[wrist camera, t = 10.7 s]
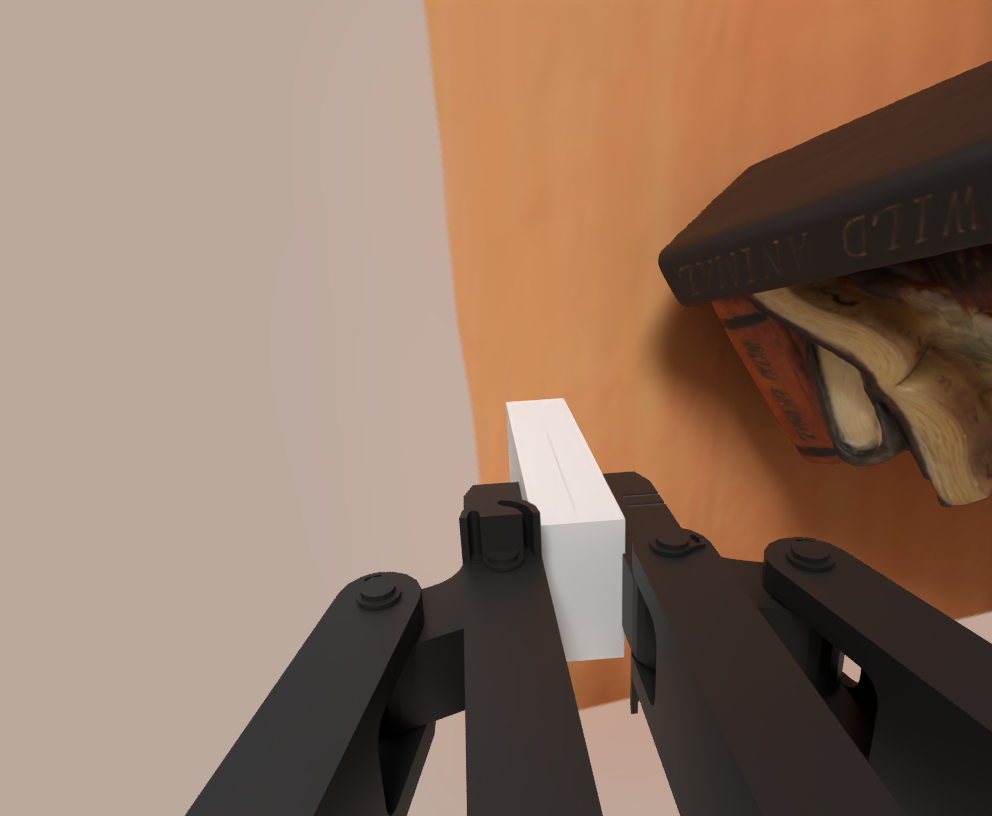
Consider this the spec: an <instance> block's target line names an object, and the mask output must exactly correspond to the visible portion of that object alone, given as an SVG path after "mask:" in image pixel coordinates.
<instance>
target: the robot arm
mask: <svg viewBox="0 0 992 816" xmlns="http://www.w3.org/2000/svg"><path fill="white" fill-rule="evenodd" d="M506 415H507V433H508V452H509V470H510V483H497V484H483V485H473V486H472V487H471V488H470V490H469V491H468V492H467V493H466V495H465V496H464V510H463V511H462V513H461V516H460V518H459V523H460V535H461V547H462V558H463V566H462V567H461V569H460V570H459V571H458V572H457V573H456V574H455V575H454V576H453V577H452V578H449V579H448V580H446V581H444V582H442V583H440V584H437V585H434V586H431V587H428V588H424V589H421V587H420V585H419V584H418V582H417V580H415V579H413V578H412V577H410V576H408V575H407V574H402V573H396V572H378V573H373V574H369V575H366V576H363V577H360V578H359V579H357V580H355V581H353V582H351V583H349V584H348V585H347V586H346V587H345V588H344V589H343V590H341V592H340V593H339V594H338V595H337V596H336V598H335V599H334V601H333V602H332V604H331V605H330V607H329V608H328V609H327V611H326V613H325V614H324V615H323V617H322V618H321V620H320V621H319V622H318V624H317V625H316V627H315V628H314V630H313V631H312V633H311V634H310V636H309V637H308V638H307V640H306V641H305V643H304V644H303V646H302V647H301V649H300V650H299V651H298V653H297V654H296V656H295V657H294V659H293V660H292V662H291V663H290V664H289V666H288V667H287V669H286V670H285V672H284V673H283V674H282V676H281V678H280V679H279V680H278V682H277V683H276V685H275V686H274V688H273V689H272V690H271V692H270V693H269V695H268V696H267V698H266V699H265V701H264V702H263V704H262V705H261V706H260V708H259V709H258V711H257V712H256V714H255V715H254V716H253V718H252V719H251V721H250V722H249V724H248V725H247V727H246V728H245V729H244V731H243V732H242V734H241V735H240V737H239V738H238V740H237V741H236V742H235V744H234V746H233V747H232V748H231V750H230V751H229V753H228V754H227V755H226V757H225V759H224V760H223V761H222V763H221V764H220V766H219V767H218V769H217V770H216V771H215V773H214V774H213V776H212V777H211V779H210V780H209V782H208V783H207V784H206V786H205V787H204V789H203V790H202V792H201V793H200V795H199V796H198V797H197V799H196V800H195V802H194V803H193V805H192V806H191V808H190V809H189V810H188V812H187V813H186V815H185V816H407V813H408V810H409V807H410V805H411V801H412V799H413V796H414V793H415V790H416V787H417V784H418V781H419V778H420V775H421V772H422V769H423V766H424V763H425V761H426V758H427V755H428V752H429V749H430V746H431V743H432V740H433V737H434V734H435V724H436V720H439V719H442V718H444V717H447V716H450V715H453V714H456V713H458V712H461V711H464V710H465V718H466V719H465V722H466V780H467V816H603V815H602V811H601V806H600V802H599V798H598V793H597V789H596V785H595V781H594V776H593V772H592V768H591V764H590V759H589V755H588V751H587V746H586V742H585V738H584V734H583V730H582V725H581V721H580V717H579V712H578V708H577V704H576V700H575V695H574V691H573V687H572V683H571V678H570V674H569V670H568V666H567V662H573V661H585V660H596V659H608V658H620V657H624V632H625V635H626V637H627V640H628V642H629V645H630V648H631V693H630V705H631V714H635V713H638V701H639V700H640V703H641V705H642V708H643V711H644V714H645V717H646V720H647V723H648V725H649V728H650V731H651V734H652V737H653V739H654V742H655V745H656V748H657V751H658V754H659V757H660V759H661V762H662V765H663V768H664V770H665V773H666V776H667V779H668V782H669V785H670V788H671V791H672V793H673V796H674V799H675V802H676V805H677V808H678V810H679V813H680V816H992V644H991V643H989V642H988V641H986V640H985V639H983V638H982V637H980V636H978V635H977V634H975V633H974V632H972V631H971V630H969V629H967V628H966V627H964V626H962V625H961V624H959V623H958V622H956V621H955V620H953V619H951V618H950V617H948V616H947V615H945V614H944V613H942V612H940V611H939V610H937V609H936V608H934V607H932V606H931V605H929V604H928V603H926V602H925V601H923V600H921V599H920V598H918V597H917V596H915V595H913V594H912V593H910V592H909V591H907V590H905V589H904V588H902V587H901V586H899V585H898V584H896V583H894V582H893V581H891V580H890V579H888V578H886V577H885V576H883V575H882V574H880V573H879V572H877V571H875V570H874V569H872V568H871V567H869V566H867V565H866V564H864V563H863V562H861V561H859V560H858V559H856V558H855V557H853V556H852V555H850V554H848V553H847V552H845V551H844V550H842V549H839V548H837V547H835V546H833V545H831V544H829V543H825V542H822V541H818V540H816V539H813V538H806V537H805V538H803V537H794V538H785V539H779V540H777V541H774V542H772V543H770V544H769V545H768V546H767V548H766V549H765V551H764V563H763V562H753V561H743V560H735V559H729V558H723V557H721V556H720V555H719V553H718V552H717V551H716V549H715V548H714V546H713V545H712V544H711V542H709V541H708V540H707V539H706V538H705V537H704V536H702V535H700V534H698V533H696V532H693V531H691V530H688V529H683V528H681V527H680V525H679V524H678V522H677V521H676V519H675V518H674V516H673V515H672V513H671V512H670V510H669V509H668V507H667V506H666V504H664V501H663V500H662V498H661V497H660V495H658V492H657V491H656V489H655V488H654V486H653V485H652V483H651V482H650V481H649V480H648V479H646V478H644V477H642V476H641V475H639V474H637V473H636V472H621V473H608V474H602V473H601V471H600V469H599V467H598V465H597V463H596V461H595V459H594V457H593V455H592V453H591V451H590V449H589V447H588V445H587V443H586V441H585V439H584V437H583V435H582V433H581V432H580V430H579V428H578V426H577V424H576V422H575V420H574V418H573V416H572V414H571V412H570V410H569V408H568V406H567V404H566V402H565V400H564V398H559V399H545V400H530V401H516V402H506ZM844 655H846V656H848V657H849V658H850V659H851V660H852V661H854V662H855V663H856V664H858V666H860V667H861V675H860V680H859V682H858V683H857V682H855V681H854V680H852V679H851V678H849V677H848V676H847V675H846V674H845V673H844V672H842V669H843V662H844Z"/></svg>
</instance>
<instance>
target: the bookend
mask: <svg viewBox="0 0 992 816" xmlns="http://www.w3.org/2000/svg"><path fill="white" fill-rule="evenodd" d="M658 264H659V267H660V269H661V272H662V274H663V276H664V278H665V280H666V281H667V283H668V285H669V287H670V288H671V290H672V292H673V294H674V295H675V297H676V298H677V300H678V301H679V302H680V304H682V305H683V306H685V307H690V306H696V305H700V304H705V303H709V302H711V303H712V305H713V307H714V309H715V312H716V314H717V316H718V318H719V320H720V322H721V323H722V325H723V327H724V329H725V331H726V333H727V334H728V336H729V338H730V340H731V342H732V344H733V346H734V347H735V349H736V351H737V353H738V354H739V356H740V358H741V359H742V361H743V363H744V364H745V366H746V368H747V370H748V371H749V373H750V375H751V377H752V379H753V380H754V382H755V384H756V385H757V387H758V389H759V390H760V392H761V394H762V396H763V397H764V399H765V400H766V402H767V404H768V406H769V407H770V409H771V411H772V412H773V414H774V416H775V417H776V419H777V420H778V422H779V423H780V425H781V426H782V428H783V429H784V431H785V432H786V434H787V435H788V437H789V438H790V440H791V441H792V442H793V443H794V444H795V446H796V448H797V450H798V451H799V453H800V454H801V456H802V457H803V458H804V459H806V460H808V461H810V462H813V463H825V464H840V463H848V464H851V465H854V466H869V465H874V464H878V463H881V462H884V461H886V460H889V459H890V458H892V457H894V456H896V455H898V454H899V453H902V452H904V451H905V450H909V451H910V452H911V453H912V454H913V456H914V458H915V460H916V462H917V463H918V465H919V467H920V469H921V472H922V474H923V476H924V477H925V478H926V479H929V480H930V481H931V483H932V485H933V488H934V489H935V490H936V491H937V498H938V501H939V502H940V504H941V506H944V507H951V506H952V505H965V504H969V503H972V502H974V501H979V500H982V499H985V498H988V497H989V496H990V494H991V493H992V61H990V62H987V63H985V64H983V65H981V66H979V67H977V68H973V69H971V70H968V71H966V72H964V73H962V74H960V75H957V76H955V77H952V78H950V79H947V80H945V81H942V82H940V83H938V84H936V85H933V86H931V87H929V88H927V89H924V90H921V91H919V92H917V93H915V94H912V95H910V96H908V97H906V98H903V99H901V100H898V101H896V102H894V103H892V104H890V105H888V106H886V107H884V108H881V109H879V110H876V111H874V112H872V113H870V114H867V115H865V116H862V117H860V118H857V119H855V120H853V121H851V122H849V123H847V124H844V125H842V126H839V127H838V128H835V129H833V130H830V131H828V132H826V133H823V134H821V135H819V136H817V137H815V138H812V139H810V140H808V141H806V142H804V143H802V144H800V145H797V146H795V147H793V148H791V149H788V150H786V151H784V152H782V153H779V154H776V155H774V156H772V157H770V158H767V159H765V160H763V161H761V162H759V163H756V164H754V165H752V166H750V167H749V168H748V169H747V170H745V171H744V172H743V173H742V174H741V175H740V176H739V177H738V178H737V179H736V180H735V181H734V182H733V183H732V184H731V185H730V186H729V187H727V188H726V189H725V190H724V191H723V192H722V193H721V194H720V195H718V196H717V197H716V198H715V199H714V200H713V201H712V202H711V203H710V204H709V205H708V206H707V207H706V208H705V209H704V210H703V211H702V212H701V213H700V214H699V216H698V217H697V218H696V219H694V220H693V221H692V222H691V223H690V224H688V226H687V227H686V228H685V229H684V230H683V231H681V232H680V233H679V234H678V235H677V236H676V237H675V238H674V240H673V241H672V242H671V243H670V244H669V245H667V246H666V247H665V248H664V249H663V250H662V251H661V253H660V254H659V259H658Z"/></svg>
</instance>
